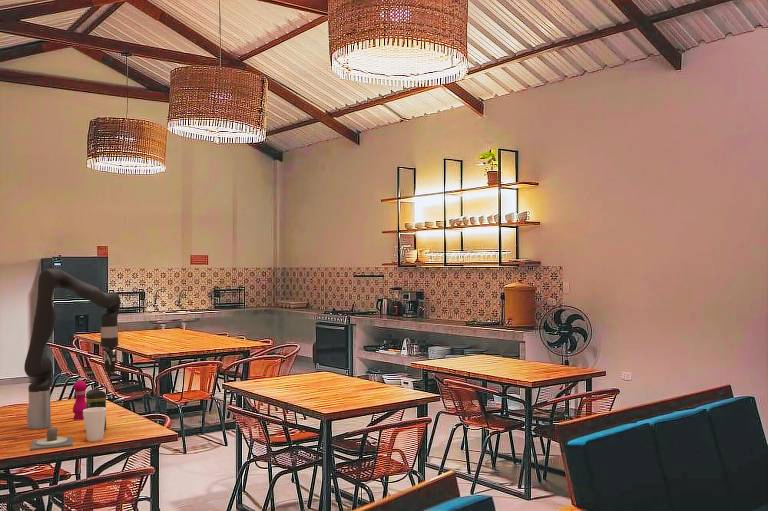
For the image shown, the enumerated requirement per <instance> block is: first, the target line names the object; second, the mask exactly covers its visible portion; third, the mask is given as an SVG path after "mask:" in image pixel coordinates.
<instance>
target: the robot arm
mask: <svg viewBox="0 0 768 511" xmlns="http://www.w3.org/2000/svg"><path fill="white" fill-rule="evenodd" d="M37 280H38V283H37V298H36V305H35V311H34V313H35V314H34V318H33V322H32V330H31V336H30V342H29V347H28V350H27V355H26V358H25V362H24V366H23V368H24V373H25V374H26V376H27V377H29V378H34V379H33V381H32V382H31V383H30V384H29V385H28V388H27V389H28V407H27V408H26V418H27V419H26V423H27V424H26V427H27V428H26V429H29V430H42V429H47V428H51V426H52V420H51V419H52V418H51V417H52V416H51V412H52V411H51V410H52V409H51V385H52V382H53V363H52V359H51V358H50V357H49V356H47V355H43V354H44V349H45V347H46V345H47V343H48V342H49V340H50V338H51V337H52V335H53V333H54V330H55V326H56V320H57V319H56V318H57V316H56V309H55V308H54V304H53V292H54V289H64V290H65V289H66V290H69V291H71V292H73V293H74V294H75V295H77V296H78V298H81V299H84V300H86V301H89V302H92V303H93V304H94V305H96V306H97V307H99V308H102V309H105V313H103V314H102V315H101V318H100V319H101V320H100V347H101V348H102V361H103V363H104V371H106V372H109V373H110V374H114V373H116V364H118V360H117V358H118V354H117V352H118V351H117V350H116V349H115V347H116V348H117V347H118V346H119V327H118V318H119V317H118V316H119V313H120V308H121V303H122V302H121V297H120V295H119V294H118V293H117V292H104V291H102V290H101V289H100V288H99V287H97V286H95V285H92V284H89V283H87V282H84V281H82V280H80V279H78V278H76V277H74V276H72V275H70V274H69V273H68V272H66V271H64V270H62V269H60V268H45V269H43V270H41V272H40V273H39V276H38V279H37Z"/></svg>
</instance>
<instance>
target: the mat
mask: <svg viewBox="0 0 768 511" xmlns="http://www.w3.org/2000/svg"><path fill="white" fill-rule="evenodd" d="M65 437H66V438H67V442H65V443H63V444H58V445H52V446H38V445H36V441H38V440H39V439H35V440H31V442H30V443H31V444H30V448H29V449H30V450H29V451H36V450H38V451H39V450H43V449H44V450H46V449H55V448H64V447H73V444H74V443H73V436H65Z"/></svg>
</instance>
